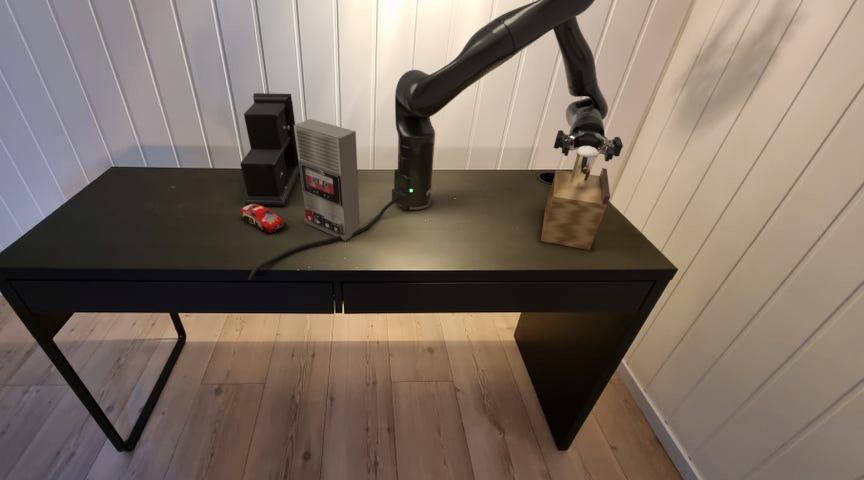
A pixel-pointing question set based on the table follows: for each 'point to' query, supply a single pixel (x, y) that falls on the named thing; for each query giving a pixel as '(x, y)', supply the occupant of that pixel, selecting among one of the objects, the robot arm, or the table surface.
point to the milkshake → (583, 165)
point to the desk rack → (575, 210)
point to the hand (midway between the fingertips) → (587, 154)
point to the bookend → (270, 150)
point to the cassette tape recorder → (329, 177)
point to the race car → (262, 218)
